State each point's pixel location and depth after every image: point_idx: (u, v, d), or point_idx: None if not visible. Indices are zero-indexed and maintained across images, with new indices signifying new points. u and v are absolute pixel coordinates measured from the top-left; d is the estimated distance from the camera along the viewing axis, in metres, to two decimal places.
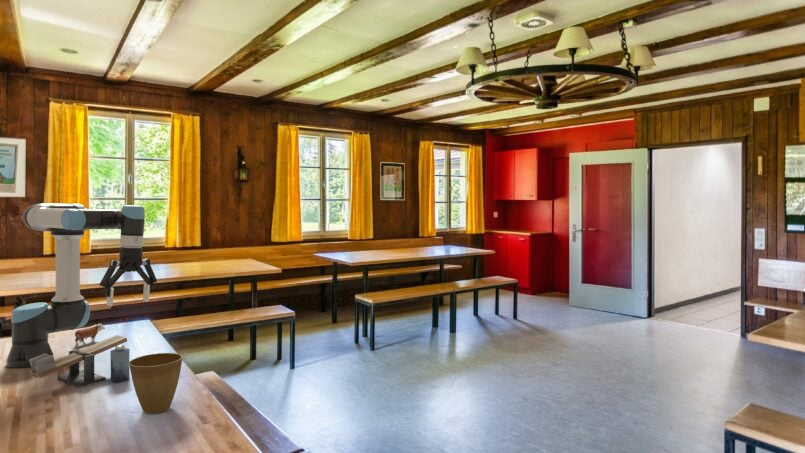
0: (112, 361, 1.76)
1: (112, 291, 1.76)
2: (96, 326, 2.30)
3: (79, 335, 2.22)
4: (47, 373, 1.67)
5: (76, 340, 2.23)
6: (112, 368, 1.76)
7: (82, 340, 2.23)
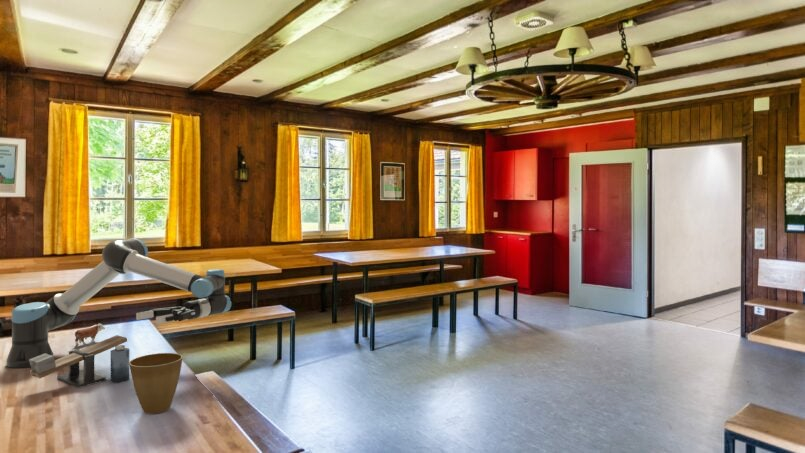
0: (112, 361, 1.76)
1: None
2: (96, 326, 2.30)
3: (79, 335, 2.22)
4: (47, 373, 1.67)
5: (76, 340, 2.23)
6: (112, 368, 1.76)
7: (82, 340, 2.23)
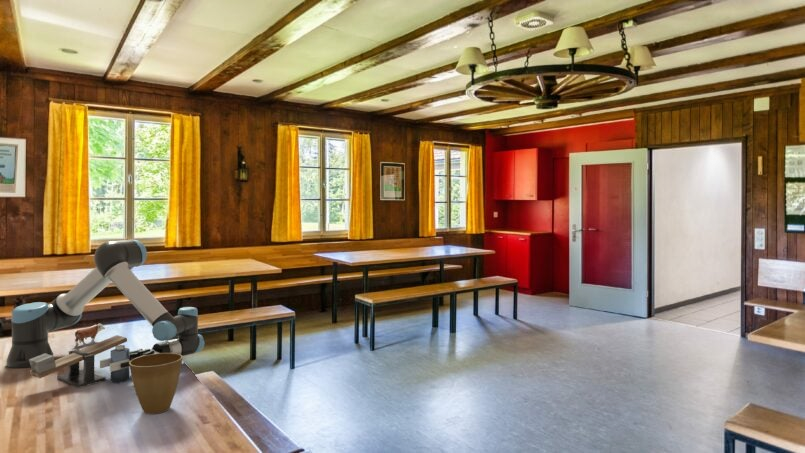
0: (112, 360, 1.76)
1: None
2: (96, 326, 2.30)
3: (79, 335, 2.22)
4: (47, 373, 1.67)
5: (76, 340, 2.23)
6: None
7: (82, 340, 2.23)
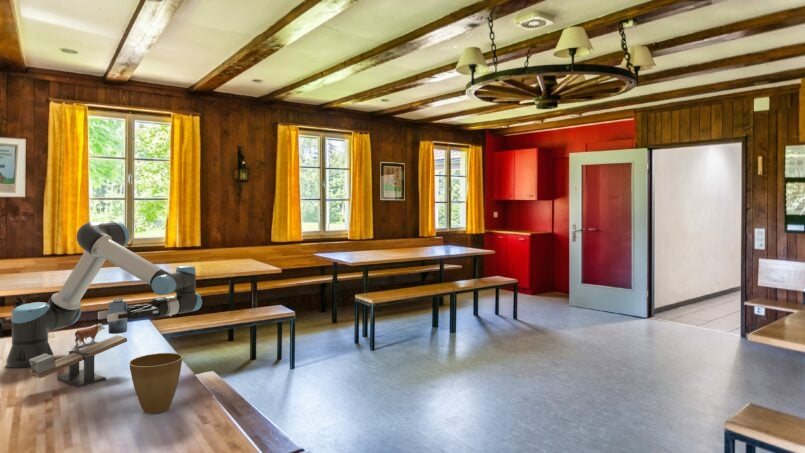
0: (110, 312, 1.78)
1: None
2: (96, 326, 2.30)
3: (79, 335, 2.22)
4: (47, 373, 1.67)
5: (76, 340, 2.23)
6: None
7: (82, 340, 2.23)
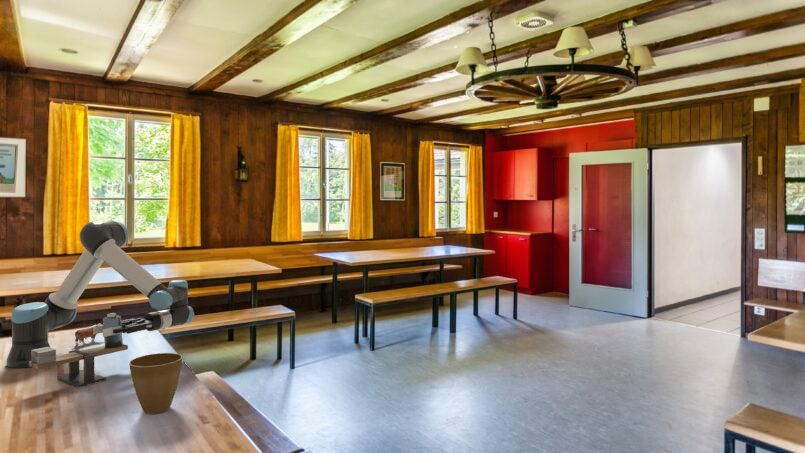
0: (105, 327, 1.85)
1: None
2: None
3: (79, 335, 2.22)
4: (46, 366, 1.66)
5: (76, 340, 2.23)
6: None
7: (82, 340, 2.23)
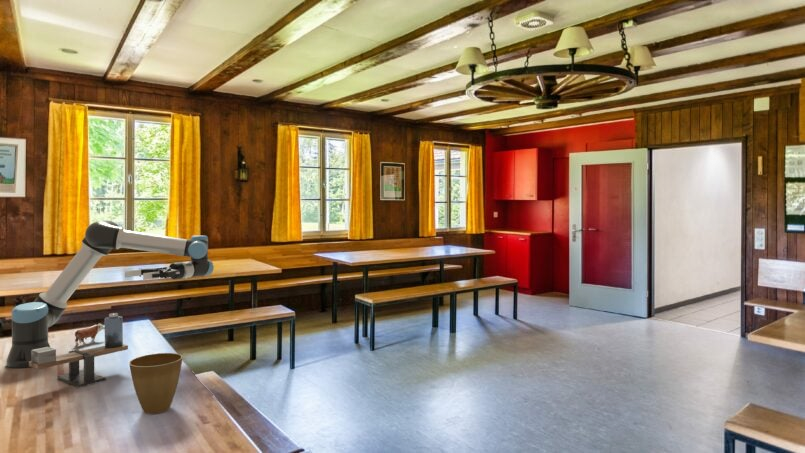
0: (106, 327, 1.85)
1: None
2: (96, 326, 2.30)
3: (79, 335, 2.22)
4: (46, 366, 1.66)
5: (76, 340, 2.23)
6: (106, 334, 1.86)
7: (82, 340, 2.23)
